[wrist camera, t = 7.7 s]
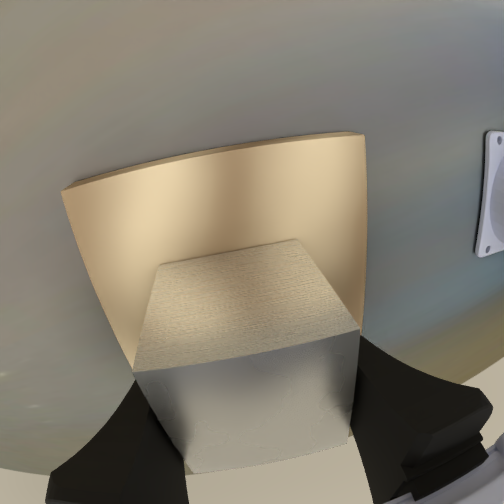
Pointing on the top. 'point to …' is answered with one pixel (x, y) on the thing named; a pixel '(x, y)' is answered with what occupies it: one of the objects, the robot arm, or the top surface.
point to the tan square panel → (222, 217)
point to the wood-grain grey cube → (248, 357)
